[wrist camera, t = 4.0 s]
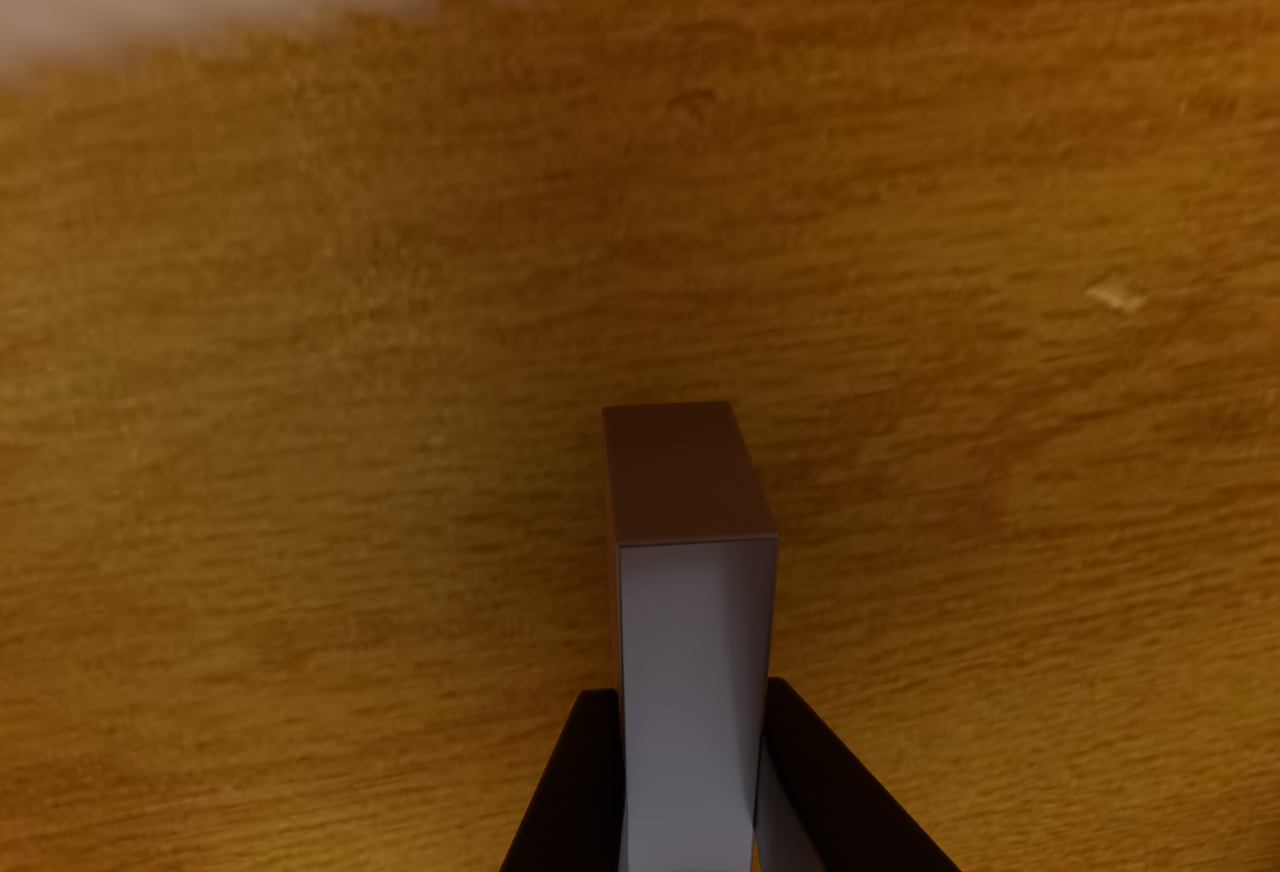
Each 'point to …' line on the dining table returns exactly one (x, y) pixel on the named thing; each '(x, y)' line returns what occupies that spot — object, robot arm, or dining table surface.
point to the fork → (688, 630)
